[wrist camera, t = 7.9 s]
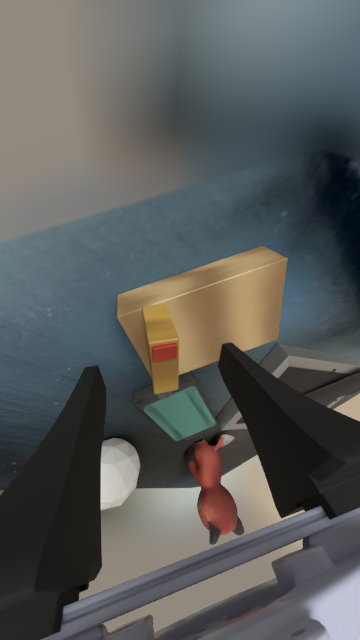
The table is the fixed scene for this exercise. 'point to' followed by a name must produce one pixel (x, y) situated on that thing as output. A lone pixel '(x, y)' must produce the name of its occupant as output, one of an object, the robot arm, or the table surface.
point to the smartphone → (178, 409)
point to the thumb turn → (161, 348)
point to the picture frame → (304, 378)
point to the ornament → (118, 471)
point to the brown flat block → (212, 306)
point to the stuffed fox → (213, 488)
